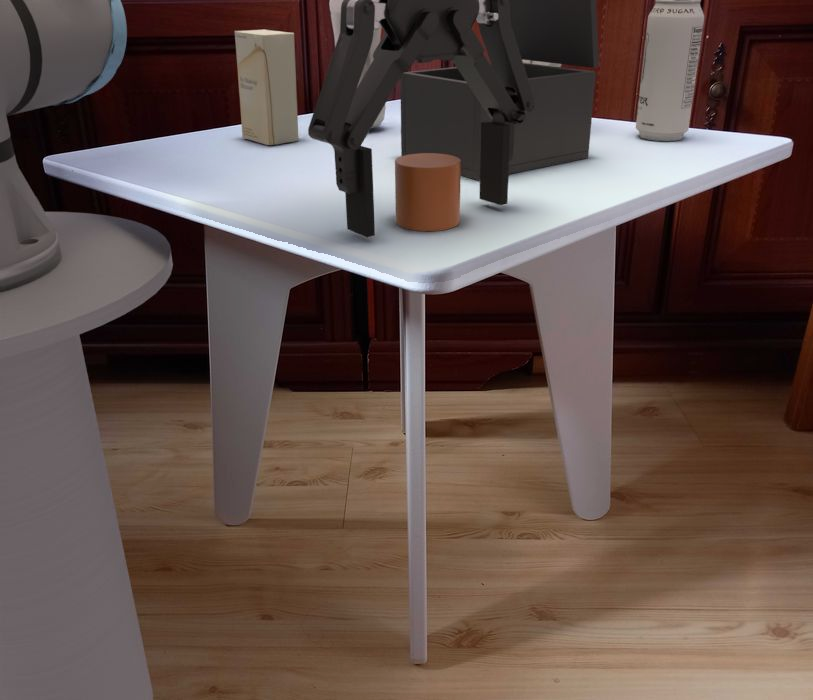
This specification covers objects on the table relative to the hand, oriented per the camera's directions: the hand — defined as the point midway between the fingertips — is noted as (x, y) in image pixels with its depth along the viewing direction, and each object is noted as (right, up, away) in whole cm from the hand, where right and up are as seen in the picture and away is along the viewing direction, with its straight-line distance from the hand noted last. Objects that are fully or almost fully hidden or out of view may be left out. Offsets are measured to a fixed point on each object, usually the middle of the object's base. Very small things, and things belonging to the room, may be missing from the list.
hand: (430, 216), depth 65 cm
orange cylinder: (0, 0, 0) cm, 0 cm away
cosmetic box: (-18, +14, +31) cm, 39 cm away
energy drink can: (+28, +14, +31) cm, 44 cm away
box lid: (+12, +27, +17) cm, 34 cm away
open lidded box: (+7, +10, +21) cm, 24 cm away
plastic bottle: (-8, +17, +37) cm, 41 cm away
